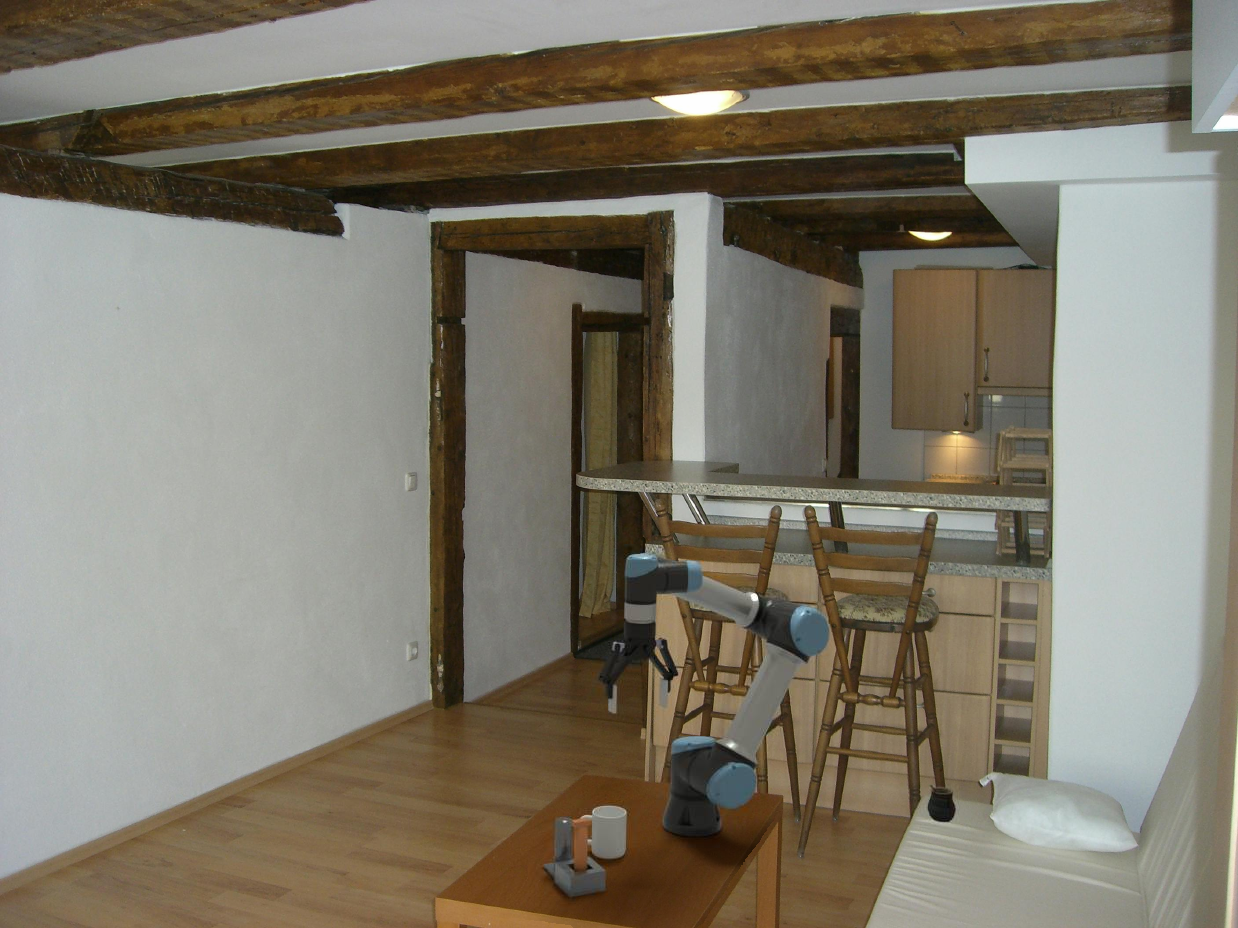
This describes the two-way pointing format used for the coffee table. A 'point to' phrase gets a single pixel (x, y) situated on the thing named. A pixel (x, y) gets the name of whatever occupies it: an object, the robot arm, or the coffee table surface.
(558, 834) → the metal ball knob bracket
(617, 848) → the cup
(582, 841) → the wedge pin
